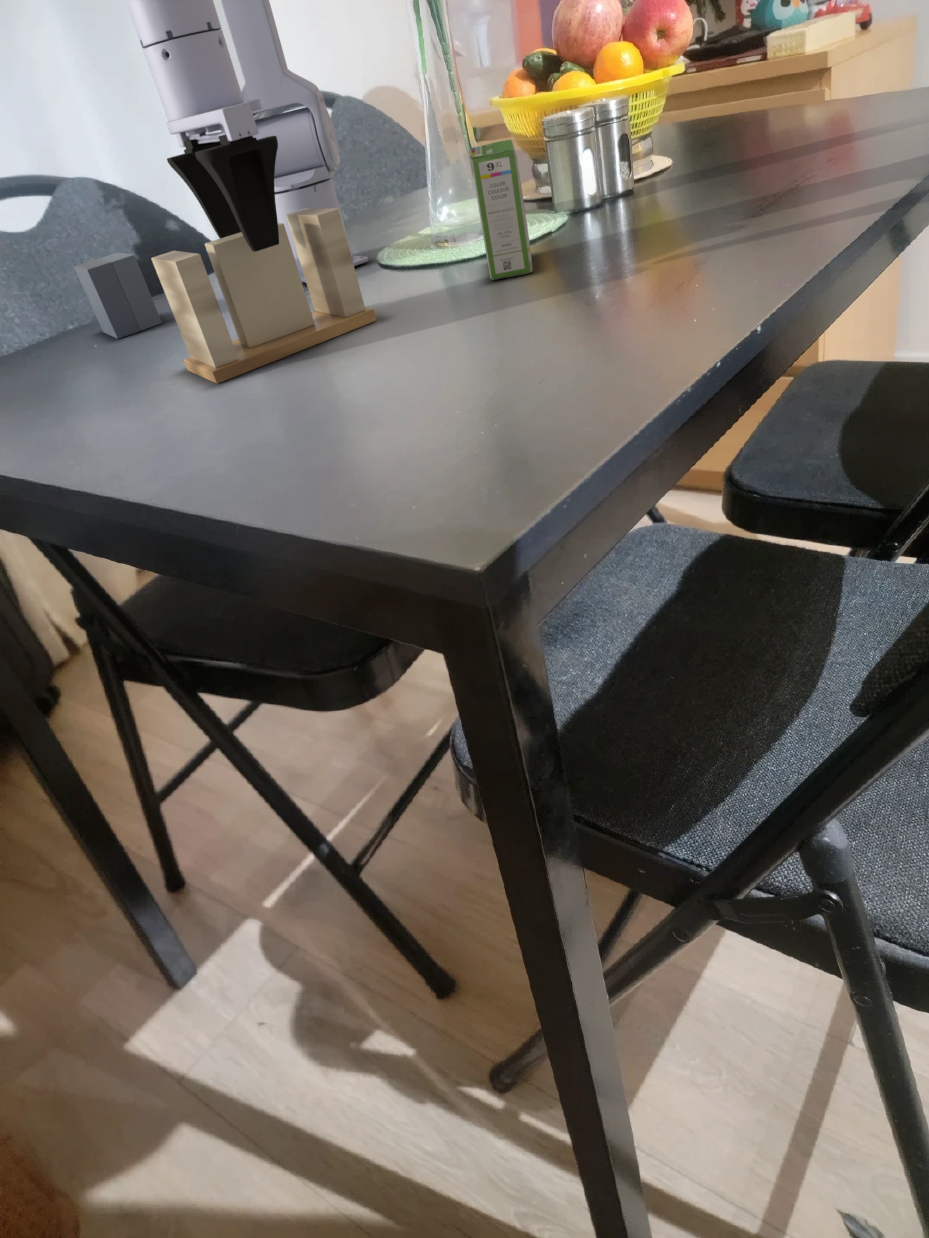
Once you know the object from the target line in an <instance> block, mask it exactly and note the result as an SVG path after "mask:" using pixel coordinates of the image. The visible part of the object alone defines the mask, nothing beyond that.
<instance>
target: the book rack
mask: <svg viewBox="0 0 929 1238" xmlns="http://www.w3.org/2000/svg"><path fill="white" fill-rule="evenodd" d="M286 217H287V220H288V223H289V227H290V230H291V233H292V237H293V240H294V243H295V247H296V250H297V253H298V257H299V260H300V263H301V266H302V270H303V273H304V276H305V280H306V283H305V284H306V286H307V290H308V292H309V296H310V300H311V304H312V306H313V309H314V310H310V311H311V314H312V317H313V320H314V324H315V325H313V326H310V327H307V328H305V329H302V330H299V331H296V332H294V333H291V334H288V335H285V336H282V337H280V338H277V339H274V340H271V341H269V342H266V343H263V344H260V345H257V346H255V347H252V348H248V347H246V346H244V345H242V344H240V341H239V338H237V339H234V340H232V338H231V337H232V336H231V335H230V332H229V330H228V327H227V323H226V322H225V318H224V316H223V313H222V311H221V307H220V305H219V302H218V299H217V297H216V294H215V291H214V288H213V286H212V283H211V280H210V277H209V275H208V272H207V269H206V266H205V264H204V261H203V258H202V256H201V255H202V254H201V253H196V252H188V251H181V250H180V251H179V250H171V251H168V252H166V253H162V254H159V255H156V256H153V257H151V258H150V259H151V262H152V265H153V267H154V269H155V272H156V275H157V277H158V279H159V282H160V284H161V287H162V289H163V292H164V294H165V297H166V299H167V302H168V304H169V308H170V309H171V312H172V314H173V317H174V319H175V322H176V325H177V327H178V329H179V332H180V334H181V337H182V340H183V342H184V345H185V348H186V350H187V352H188V354H189V357H187V358H184V359H183V363H184V364H185V366H186V369H187V371H188V372H190V373H191V374H192V373H193V375H196V376H199V377H201V378H204V379H206V380H208V381H210V382H212V383H214V384H217V385H218V384H221V383H223V382H226V381H229V380H231V379H233V378H236V377H239V376H241V375H243V374H246V373H248V372H251V371H254V370H256V369H258V368H262V367H264V366H266V365H269V364H271V363H273V362H274V363H275V362H276V361H278V360H281V359H284V358H286V357H289V356H291V355H294V354H296V353H299V352H301V351H304V350H306V349H310V348H311V347H314V346H317V345H319V344H322V343H324V342H326V341H329V340H333V339H334V338H337V337H339V336H341V335H344V334H347V333H350V332H352V331H354V330H357V329H359V328H361V327H364V326H367V325H369V324H371V323H375V322H377V316H376V313H375V310H374V308H369V307H365V302H364V299H363V295H362V292H361V288H360V287H361V286H360V284H359V280H358V277H357V273H356V269H355V266H354V265H353V261H352V257H351V254H350V250H349V246H348V242H347V239H346V235H345V231H344V227H343V224H342V220H341V216H340V212H339V209H338V208H305V209H302V210H299V211H296V212H293V213H289V214H287V215H286Z"/></svg>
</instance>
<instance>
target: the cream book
mask: <svg viewBox="0 0 929 1238" xmlns="http://www.w3.org/2000/svg"><path fill="white" fill-rule="evenodd" d="M278 231H279V244H278V245H275V246H272V247H269V248H266V249H262V250H259V251H256V252H254V251H252V250H251V248H250V247H249V245H248V243H247V242H246V240H245V238H244V236H243V234H242V232H240V233H237V234H234V235H230V236H227V237H224V238H221V239H220V238H218V239H215V240H211V241H208V242H205V243H204V246H205V250H206V253H207V255H208V258H209V261H210V263H211V266H212V269H213V272H214V275H215V277H216V280H217V283H218V286H219V288H220V291H221V294H222V297H223V300H224V302H225V305H226V307H227V310H228V313H229V316H230V319H231V321H232V324H233V327H234V329H235V332H236V333H235V334H236V335H237V339H239V341H240V344H242V345H244V346H246V347H248V348H252V347H255V346H257V345H260V344H263V343H266V342H269V341H271V340H274V339H277V338H280V337H282V336H285V335H288V334H291V333H294V332H296V331H299V330H302V329H305V328H307V327H310V326H313V325H315V324H314V320H313V317H312V314H311V311H312V310H311V308H310V304H309V300H308V298H307V294H306V292H305V288H304V285H303V284H304V283H303V282H302V281H301V278H300V275H299V271H298V268H297V265H296V262H295V258H294V255H293V252H292V248H291V245H290V242H289V239H288V235H287V232H286V229H285V226H284V223H278Z"/></svg>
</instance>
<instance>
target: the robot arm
mask: <svg viewBox="0 0 929 1238" xmlns="http://www.w3.org/2000/svg"><path fill="white" fill-rule="evenodd" d="M124 1H125V4H126V7H127V9H128V12H129V16H130V19H131V20H132V23H133V26H134V29H135V33H136V34H137V38H138V41H139V43H140V46H141V49H142V51H143V54H144V57H145V60H146V63H147V66H148V68H149V71H150V75H151V77H152V79H153V82H154V85H155V88H156V90H157V93H158V94H157V95H158V97H159V99H160V102H161V105H162V108H163V110H164V113H165V116H166V119H167V121H166V122H165V125H166V127H167V130H168V133H169V134H170V135H175V136H176V140H177V142H178V146H179V148H185V149H183V153H182V154H177V155H174V156H170V157H167V158H166V161H167V163H168V165H169V166H170V168H171V169H172V170H174V172H175V173H176V174H178V176H179V177H180V178H181V179H182V180H183V182H184V183H185V185H187V187H188V188H189V190H190V191H191V192H192V194H193V195H194V197H195V199H196V200H197V201H198V203H199V205H200V207H201V208H202V209H203V212H204V214H205V215H206V217H207V219H208V221H209V223H210V225H211V226H212V228H213V230H214V232H215V233H216V235H217V237H218V239H221V238H224V237H227V236H230V235H234V234H237V233H240V232H242V234H243V236H244V238H245V240H246V242H247V243H248V245H249V247H250V248H251V250H252V251H254V252H256V251H259V250H262V249H266V248H269V247H272V246H275V245H278V244H279V231H278V223H284V226H285V229H286V232H287V235H288V239H289V242H290V245H291V248H292V252H293V255H294V258H295V262H296V265H297V268H298V271H299V275H300V278H301V281H302V283H303V284H304V283H305V284H307V283H306V280H305V276H304V273H303V270H302V266H301V263H300V260H299V257H298V253H297V250H296V247H295V243H294V240H293V237H292V233H291V230H290V227H289V223H288V220H287V217H286V215H287V214H289V213H293V212H296V211H299V210H302V209H305V208H338V209H339V212H340V216H341V220H342V224H343V227H344V231H345V235H346V239H347V242H348V246H349V250H350V254H351V257H352V261H353V265H354V267H356V266H359V265H362V264H366V263H368V262H369V257H368V256H363V255H362V256H361V255H354V254H353V252H352V249H351V245H350V242H349V236H348V234H347V230H346V227H345V222H344V219H343V216H342V215H343V214H342V211H341V206H340V204H339V199H338V196H337V193H336V189H335V185H334V181H333V177H332V176H333V175H334V173H335V172H337V171H338V169H339V168H338V167H339V166H340V163H341V156H340V148H339V144H338V140H337V139H338V138H337V136H336V131H335V128H334V124H333V121H332V119H331V118H332V117H331V115H330V113H329V110H328V108H327V106H326V102H325V98H324V95H323V92H321V90H320V89H319V87H318V86H317V85H316V84H315V83H313V82H312V81H310V80H308V79H306V78H304V77H302V76H300V75H299V74H297V73H295V72H293V71H292V70H290V69H289V68H288V65H287V61H286V57H285V54H284V50H283V49H284V48H283V46H282V42H281V39H280V35H279V31H278V27H277V24H276V21H275V17H274V13H273V9H272V6H271V2H270V0H219V2H220V6H221V9H222V13H223V17H224V19H225V23H226V26H227V28H228V33H229V36H230V40H231V42H232V46H233V49H234V53H235V56H236V60H237V63H238V66H239V70H240V73H241V76H242V79H243V84H242V85H241V87H240V84H239V80H238V77H237V74H236V71H235V67H234V64H233V61H232V58H231V54H230V51H229V48H228V45H227V44H228V43H227V42H226V38H225V34H224V31H223V30H222V25H221V21H220V18H219V16H218V11H217V9H216V6H215V2H214V0H124ZM295 104H299V105H300V104H301V105H303V106H305V107H301V108H298V109H292V110H290V111H284V112H281V113H277V114H273V115H269V116H265V117H261V118H257V119H255V116H256V115H259V114H260V113H264V112H267V111H268V112H269V111H271V110H275V109H280V108H283V107H288V106H292V105H295ZM217 131H219V132H217Z"/></svg>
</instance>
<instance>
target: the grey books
mask: <svg viewBox="0 0 929 1238" xmlns="http://www.w3.org/2000/svg"><path fill="white" fill-rule="evenodd" d="M73 269H74V271H75V273H76V275H77V277H78V280H79V281H80V284H81V286H82V288H83V291H84V292H85V296H86V297H87V299H88V302H89V303H90V306H91V308H92V310H93V312H94V315H95V317H96V319H97V321H98V324H99V326H100V328H101V331H102V332H103V333H104V334H106V335H108V336H110V337H112V338H115V339H118V340H120V339H122V338H125V337H128V336H131V335H133V334H137V333H139V332H142V331H145V330H148V329H150V328H153V327H156V326H159V325H162V324H163V322H162V319H161V317H160V314H159V312H158V309H157V307H156V303H155V302H154V300H153V297H152V294H151V292H150V290H149V287H148V285H147V282H146V279H145V277H144V275H143V272H142V270H141V268H140V266H139V263H138V261H137V258H136V255H135V254H131V253H126V252H125V253H124V252H120V251H119V252H115V253H112V254H108V255H106V256H102V257H99V258H97V259H92V260H89V261H86V262H83V263H80V264H77V265H74V266H73Z"/></svg>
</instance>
